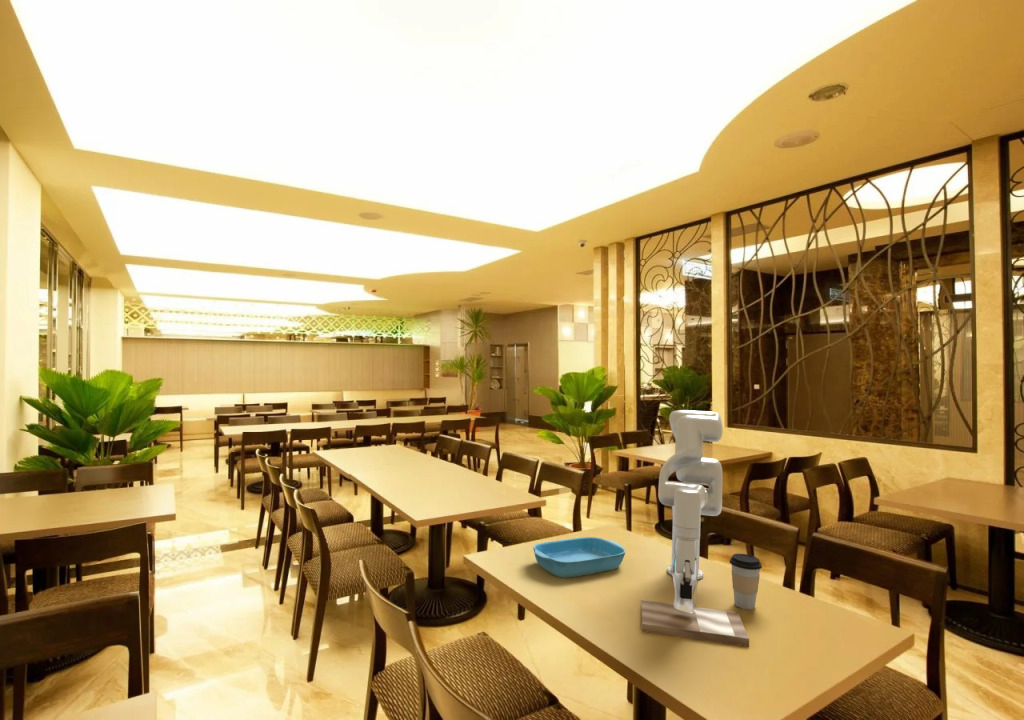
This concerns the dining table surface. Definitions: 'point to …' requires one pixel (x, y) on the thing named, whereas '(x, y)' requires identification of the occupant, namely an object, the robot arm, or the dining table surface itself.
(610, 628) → the dining table surface
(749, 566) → the coffee cup
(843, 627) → the dining table surface
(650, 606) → the cutting board
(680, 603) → the beer glass
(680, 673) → the dining table surface
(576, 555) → the casserole dish
